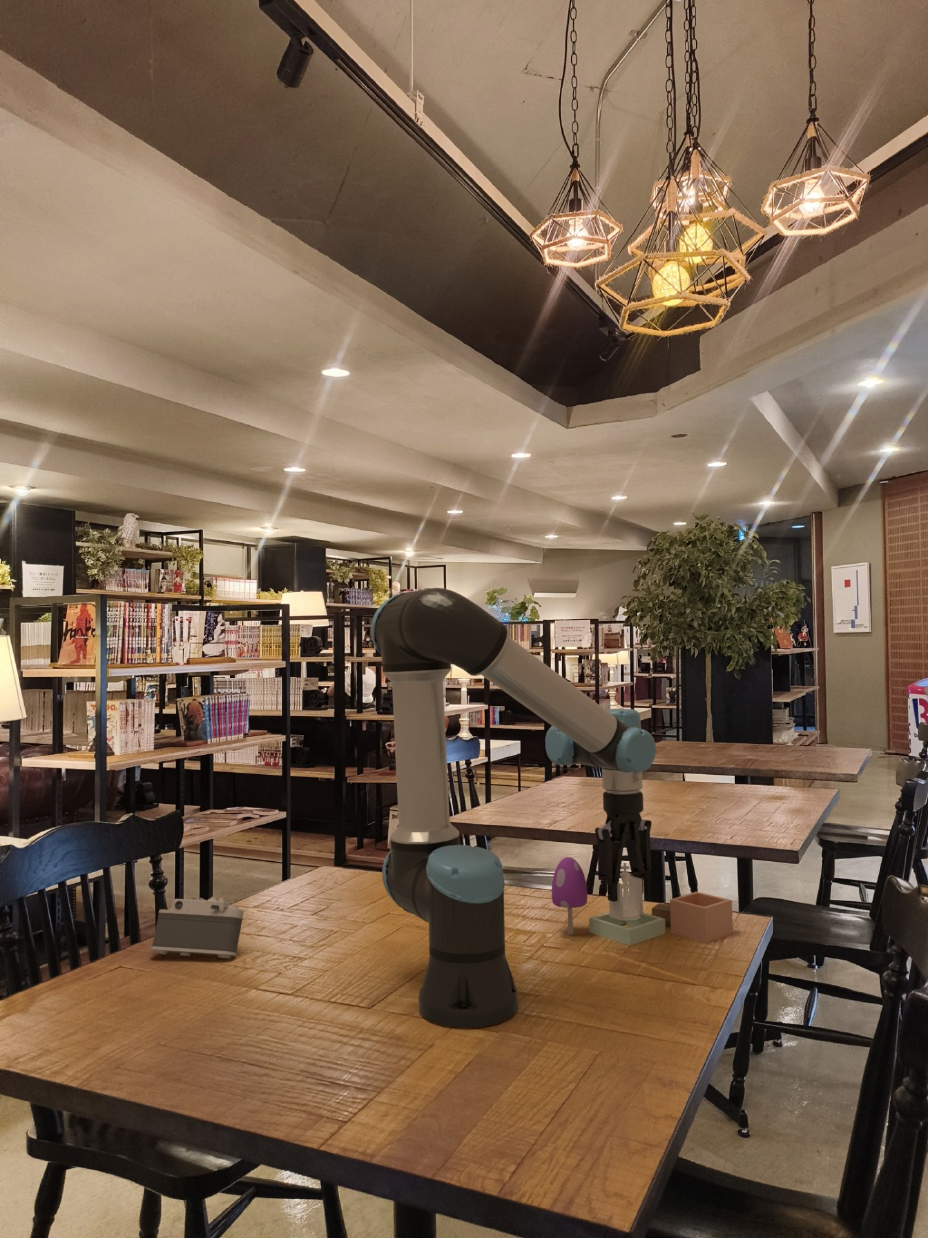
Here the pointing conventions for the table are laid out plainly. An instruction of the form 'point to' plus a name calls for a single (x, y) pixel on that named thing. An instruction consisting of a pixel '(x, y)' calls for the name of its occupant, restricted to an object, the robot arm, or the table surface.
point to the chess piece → (627, 897)
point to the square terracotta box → (701, 917)
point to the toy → (569, 887)
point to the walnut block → (662, 913)
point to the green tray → (612, 930)
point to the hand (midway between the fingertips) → (626, 914)
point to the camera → (198, 928)
